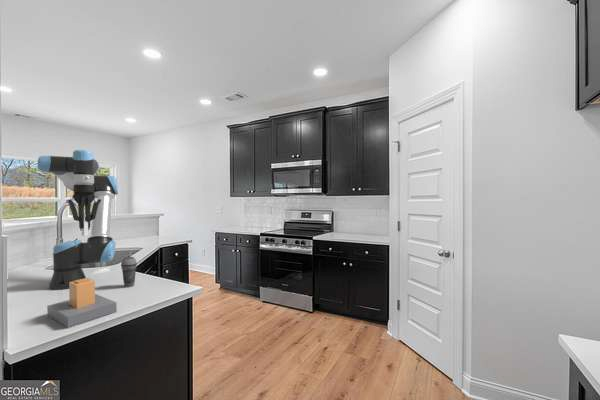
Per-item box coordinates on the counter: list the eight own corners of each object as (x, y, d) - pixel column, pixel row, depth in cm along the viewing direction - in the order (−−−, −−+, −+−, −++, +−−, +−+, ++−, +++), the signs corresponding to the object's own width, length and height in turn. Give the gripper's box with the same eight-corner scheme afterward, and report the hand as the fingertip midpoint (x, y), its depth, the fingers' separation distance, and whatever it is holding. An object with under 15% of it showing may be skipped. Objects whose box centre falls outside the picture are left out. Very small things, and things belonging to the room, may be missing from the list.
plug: (69, 310, 111) (69, 280, 110) (87, 305, 116) (86, 277, 115) (77, 314, 107) (76, 283, 107) (95, 309, 112) (94, 279, 112)
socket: (47, 315, 110) (47, 305, 110) (94, 302, 123) (93, 293, 123) (68, 328, 99) (67, 317, 99) (116, 311, 113) (116, 302, 113)
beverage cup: (125, 283, 149) (125, 247, 149) (139, 283, 150) (139, 246, 149) (118, 288, 142) (117, 249, 141) (132, 287, 142) (132, 249, 142)
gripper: (69, 183, 119) (70, 238, 120) (103, 184, 130) (104, 234, 131) (62, 184, 123) (64, 236, 123) (96, 184, 134) (97, 233, 135)
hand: (84, 235), depth 127 cm, fingers closed
